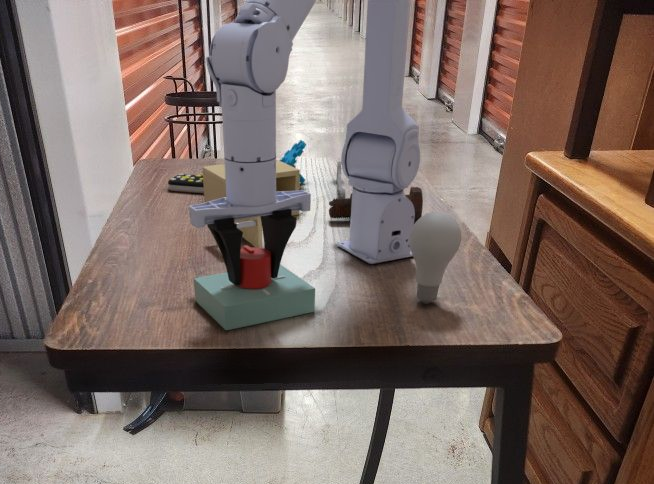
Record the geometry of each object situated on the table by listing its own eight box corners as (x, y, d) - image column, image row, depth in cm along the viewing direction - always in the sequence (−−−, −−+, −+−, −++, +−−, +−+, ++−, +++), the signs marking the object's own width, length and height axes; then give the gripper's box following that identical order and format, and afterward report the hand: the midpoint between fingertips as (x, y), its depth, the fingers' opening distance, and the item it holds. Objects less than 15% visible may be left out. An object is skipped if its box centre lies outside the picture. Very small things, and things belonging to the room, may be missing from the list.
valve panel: (314, 311, 82) (315, 287, 80) (226, 330, 78) (224, 305, 76) (278, 284, 89) (278, 261, 87) (195, 301, 85) (193, 276, 83)
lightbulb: (444, 293, 87) (458, 204, 80) (455, 312, 82) (471, 219, 75) (397, 293, 86) (408, 205, 80) (406, 312, 82) (418, 220, 75)
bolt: (328, 230, 113) (417, 227, 112) (330, 223, 108) (422, 220, 107) (328, 194, 112) (417, 191, 111) (329, 185, 107) (423, 181, 106)
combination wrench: (346, 188, 115) (343, 159, 130) (338, 188, 115) (337, 159, 130) (344, 211, 117) (342, 179, 133) (337, 210, 117) (336, 179, 133)
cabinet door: (223, 255, 97) (220, 207, 93) (194, 230, 107) (190, 185, 102) (262, 249, 99) (261, 201, 95) (230, 225, 109) (228, 181, 104)
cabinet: (299, 214, 114) (299, 169, 110) (226, 225, 109) (224, 179, 105) (274, 200, 121) (274, 158, 116) (205, 210, 116) (202, 166, 112)
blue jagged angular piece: (267, 167, 133) (302, 129, 128) (287, 189, 136) (323, 153, 130) (261, 190, 126) (298, 151, 120) (283, 212, 129) (320, 175, 123)
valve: (277, 285, 81) (277, 253, 78) (244, 291, 79) (243, 259, 77) (261, 273, 84) (261, 242, 81) (229, 279, 82) (228, 248, 80)
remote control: (228, 196, 123) (228, 184, 122) (166, 191, 126) (164, 179, 125) (239, 188, 128) (239, 176, 126) (179, 183, 131) (178, 172, 129)
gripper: (291, 143, 78) (290, 259, 87) (175, 156, 73) (186, 278, 81) (321, 155, 73) (317, 277, 82) (198, 170, 68) (208, 298, 77)
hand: (253, 278), depth 81 cm, fingers closed on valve, 4 cm apart
